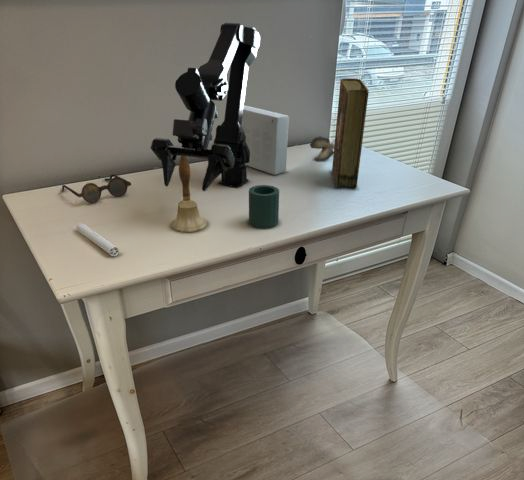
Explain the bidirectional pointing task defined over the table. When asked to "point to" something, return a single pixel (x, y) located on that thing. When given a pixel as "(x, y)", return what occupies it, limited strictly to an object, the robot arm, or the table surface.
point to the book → (349, 132)
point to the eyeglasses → (93, 192)
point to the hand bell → (187, 204)
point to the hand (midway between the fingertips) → (184, 187)
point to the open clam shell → (323, 148)
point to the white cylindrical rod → (97, 239)
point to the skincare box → (266, 139)
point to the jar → (263, 206)
